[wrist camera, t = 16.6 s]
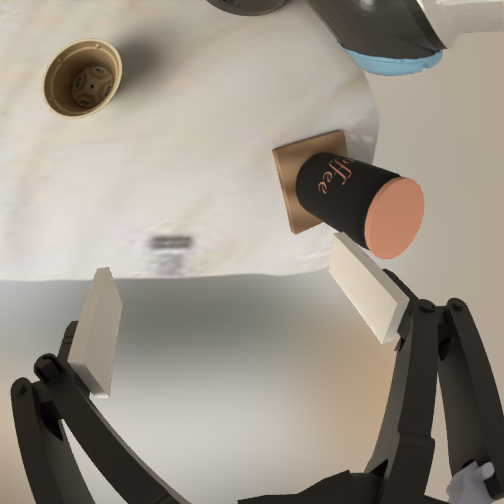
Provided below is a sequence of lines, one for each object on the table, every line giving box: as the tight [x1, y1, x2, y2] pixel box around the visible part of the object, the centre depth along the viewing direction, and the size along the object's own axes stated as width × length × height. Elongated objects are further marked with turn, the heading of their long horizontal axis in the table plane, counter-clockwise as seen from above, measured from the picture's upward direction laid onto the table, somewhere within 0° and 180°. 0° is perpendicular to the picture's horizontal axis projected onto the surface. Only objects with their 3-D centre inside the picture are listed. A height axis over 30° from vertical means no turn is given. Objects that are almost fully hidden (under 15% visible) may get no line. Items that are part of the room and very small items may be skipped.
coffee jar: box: [295, 152, 424, 259], centre depth 38 cm, size 11×11×18 cm
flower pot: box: [42, 38, 122, 119], centre depth 24 cm, size 9×9×9 cm
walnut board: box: [272, 130, 347, 235], centre depth 46 cm, size 15×13×2 cm
